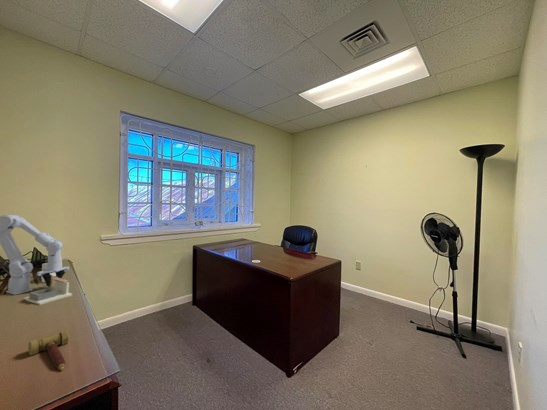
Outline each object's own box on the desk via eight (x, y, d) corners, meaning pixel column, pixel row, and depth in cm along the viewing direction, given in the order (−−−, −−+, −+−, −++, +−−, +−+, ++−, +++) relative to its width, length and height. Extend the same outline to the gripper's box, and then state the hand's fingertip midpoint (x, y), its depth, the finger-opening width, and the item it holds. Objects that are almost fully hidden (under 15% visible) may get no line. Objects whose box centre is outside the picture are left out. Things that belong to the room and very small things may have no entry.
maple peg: (46, 289, 137) (47, 277, 137) (54, 287, 141) (55, 275, 141) (50, 290, 135) (51, 278, 136) (59, 288, 139) (59, 276, 139)
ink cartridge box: (55, 278, 157) (56, 256, 157) (61, 279, 156) (62, 257, 156) (40, 282, 148) (42, 259, 148) (46, 283, 147) (48, 259, 147)
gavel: (83, 354, 77) (40, 370, 69) (82, 367, 77) (39, 385, 69) (66, 328, 89) (28, 339, 81) (65, 339, 90) (28, 352, 82)
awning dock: (24, 299, 122) (25, 283, 122) (56, 291, 135) (57, 276, 135) (39, 304, 117) (40, 287, 117) (72, 295, 130) (72, 280, 130)
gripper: (42, 265, 130) (41, 289, 130) (72, 260, 144) (71, 282, 143) (35, 263, 133) (34, 287, 132) (65, 258, 146) (64, 280, 146)
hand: (53, 284), depth 138 cm, fingers closed on maple peg, 4 cm apart
